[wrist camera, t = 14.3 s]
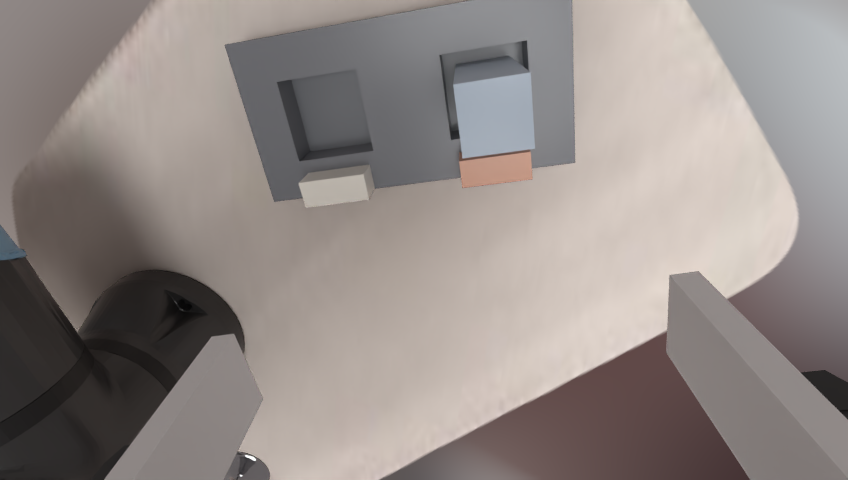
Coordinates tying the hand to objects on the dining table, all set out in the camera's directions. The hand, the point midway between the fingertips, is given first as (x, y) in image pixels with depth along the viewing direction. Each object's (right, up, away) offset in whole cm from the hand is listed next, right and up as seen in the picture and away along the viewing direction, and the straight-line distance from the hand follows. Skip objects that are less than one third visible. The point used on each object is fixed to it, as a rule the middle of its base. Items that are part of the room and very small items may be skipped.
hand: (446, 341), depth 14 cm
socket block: (-2, +14, +23) cm, 27 cm away
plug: (+4, +15, +21) cm, 26 cm away
